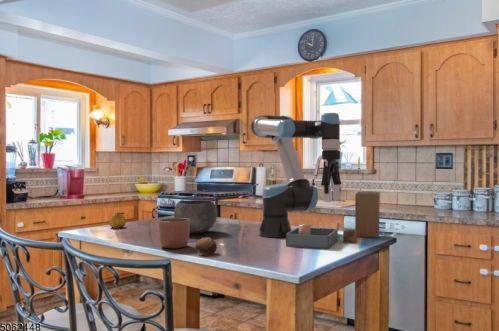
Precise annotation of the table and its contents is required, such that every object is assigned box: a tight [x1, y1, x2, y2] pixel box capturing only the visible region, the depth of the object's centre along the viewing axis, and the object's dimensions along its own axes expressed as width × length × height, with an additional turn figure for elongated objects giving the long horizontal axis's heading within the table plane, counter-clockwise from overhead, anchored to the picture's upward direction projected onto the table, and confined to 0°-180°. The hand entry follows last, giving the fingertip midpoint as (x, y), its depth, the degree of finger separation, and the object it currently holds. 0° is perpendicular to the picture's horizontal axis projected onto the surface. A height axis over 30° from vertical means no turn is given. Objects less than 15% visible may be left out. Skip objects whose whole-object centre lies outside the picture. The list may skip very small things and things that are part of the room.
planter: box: [158, 217, 190, 250], centre depth 179 cm, size 12×12×11 cm
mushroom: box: [195, 236, 218, 256], centre depth 166 cm, size 8×8×6 cm
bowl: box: [173, 199, 218, 234], centre depth 213 cm, size 20×20×15 cm
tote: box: [285, 226, 339, 250], centre depth 185 cm, size 17×19×5 cm
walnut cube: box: [342, 228, 358, 244], centre depth 188 cm, size 5×5×5 cm
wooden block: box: [354, 190, 380, 239], centre depth 202 cm, size 10×10×20 cm
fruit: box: [108, 212, 127, 229], centre depth 231 cm, size 8×8×8 cm
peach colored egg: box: [298, 223, 312, 235], centre depth 186 cm, size 5×5×7 cm
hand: (331, 200), depth 186 cm, fingers open, 13 cm apart
